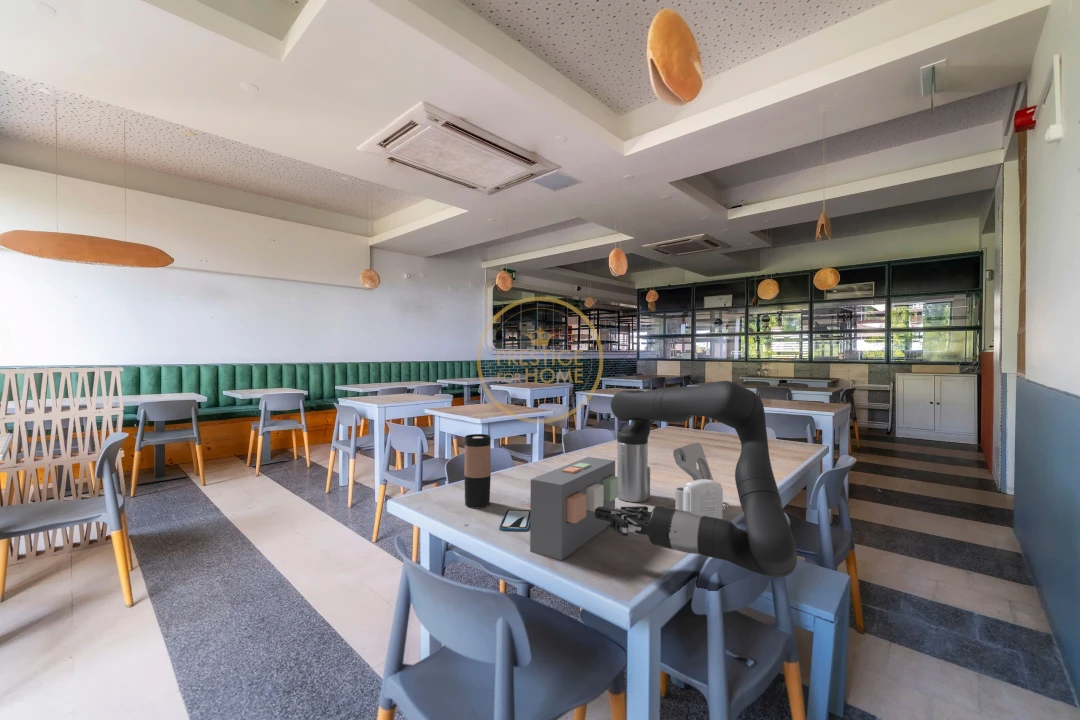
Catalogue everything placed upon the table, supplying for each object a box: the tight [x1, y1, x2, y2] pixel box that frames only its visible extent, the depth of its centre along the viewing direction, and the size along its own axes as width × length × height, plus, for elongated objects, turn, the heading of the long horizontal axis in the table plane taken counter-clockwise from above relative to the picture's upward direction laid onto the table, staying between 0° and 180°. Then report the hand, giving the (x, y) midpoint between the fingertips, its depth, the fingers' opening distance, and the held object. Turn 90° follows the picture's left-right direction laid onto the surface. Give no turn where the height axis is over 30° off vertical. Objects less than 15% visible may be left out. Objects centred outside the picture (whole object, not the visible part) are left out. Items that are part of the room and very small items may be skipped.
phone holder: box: [673, 441, 730, 511], centre depth 129 cm, size 17×10×18 cm, turn 138°
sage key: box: [602, 475, 619, 501], centre depth 114 cm, size 4×5×5 cm
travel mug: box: [463, 433, 492, 508], centre depth 131 cm, size 8×8×20 cm
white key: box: [586, 483, 604, 511], centre depth 107 cm, size 4×5×5 cm
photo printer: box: [682, 479, 724, 519], centre depth 114 cm, size 10×4×12 cm, turn 106°
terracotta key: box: [567, 492, 586, 523], centre depth 99 cm, size 4×5×5 cm
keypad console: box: [529, 456, 616, 561], centre depth 109 cm, size 8×28×16 cm, turn 147°
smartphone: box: [498, 508, 530, 532], centre depth 119 cm, size 7×1×15 cm
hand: (596, 512), depth 96 cm, fingers closed
